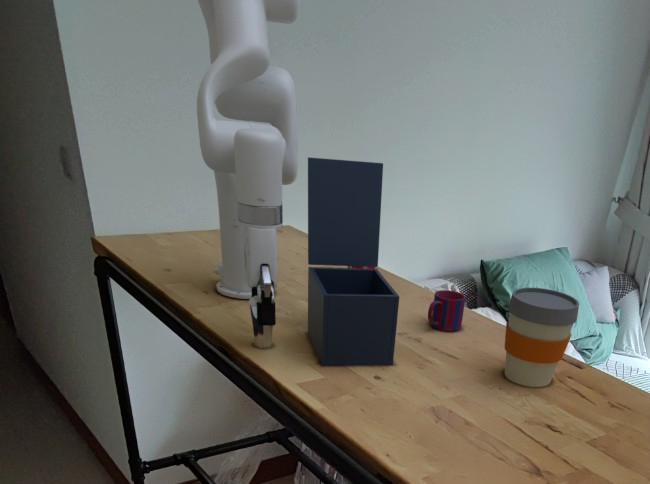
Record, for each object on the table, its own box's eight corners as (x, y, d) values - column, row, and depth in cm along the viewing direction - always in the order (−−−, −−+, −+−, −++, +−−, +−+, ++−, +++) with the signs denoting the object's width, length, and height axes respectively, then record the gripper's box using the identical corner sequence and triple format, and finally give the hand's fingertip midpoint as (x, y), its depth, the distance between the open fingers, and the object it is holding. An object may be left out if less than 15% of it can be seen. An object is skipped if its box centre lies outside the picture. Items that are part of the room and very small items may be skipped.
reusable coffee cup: (483, 366, 126) (498, 287, 117) (537, 362, 131) (555, 286, 122) (516, 393, 118) (535, 311, 108) (572, 388, 122) (595, 309, 113)
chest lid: (383, 163, 117) (382, 163, 117) (308, 157, 113) (307, 157, 114) (377, 266, 126) (376, 266, 127) (308, 264, 122) (307, 263, 123)
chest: (393, 364, 122) (399, 296, 114) (321, 365, 118) (323, 294, 111) (372, 332, 134) (377, 268, 127) (307, 332, 131) (308, 266, 123)
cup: (467, 328, 142) (472, 297, 138) (435, 336, 137) (439, 304, 133) (445, 319, 146) (450, 288, 142) (413, 326, 140) (417, 294, 136)
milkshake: (281, 342, 125) (280, 289, 119) (267, 351, 121) (266, 297, 115) (260, 337, 126) (258, 285, 120) (246, 346, 122) (243, 292, 116)
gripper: (233, 204, 115) (239, 301, 125) (241, 224, 102) (247, 332, 112) (276, 206, 117) (278, 302, 127) (289, 227, 104) (290, 332, 114)
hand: (263, 316), depth 120 cm, fingers open, 9 cm apart
